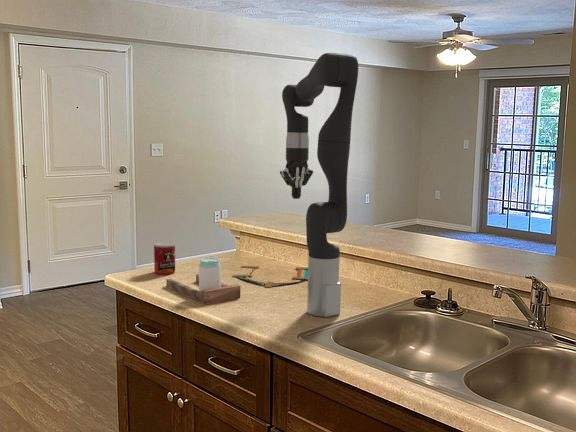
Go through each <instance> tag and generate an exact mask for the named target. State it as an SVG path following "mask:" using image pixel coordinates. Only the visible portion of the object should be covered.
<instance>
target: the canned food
mask: <svg viewBox="0 0 576 432" xmlns="http://www.w3.org/2000/svg"><path fill="white" fill-rule="evenodd" d="M153 255H154V256H153V261H154V264H153V265H154V273H155V274H156V275H158V276H168V275H173V274H174V273H175V272H176V243H175V242H172V241H158V242H155V243H154V244H153Z"/></svg>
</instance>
